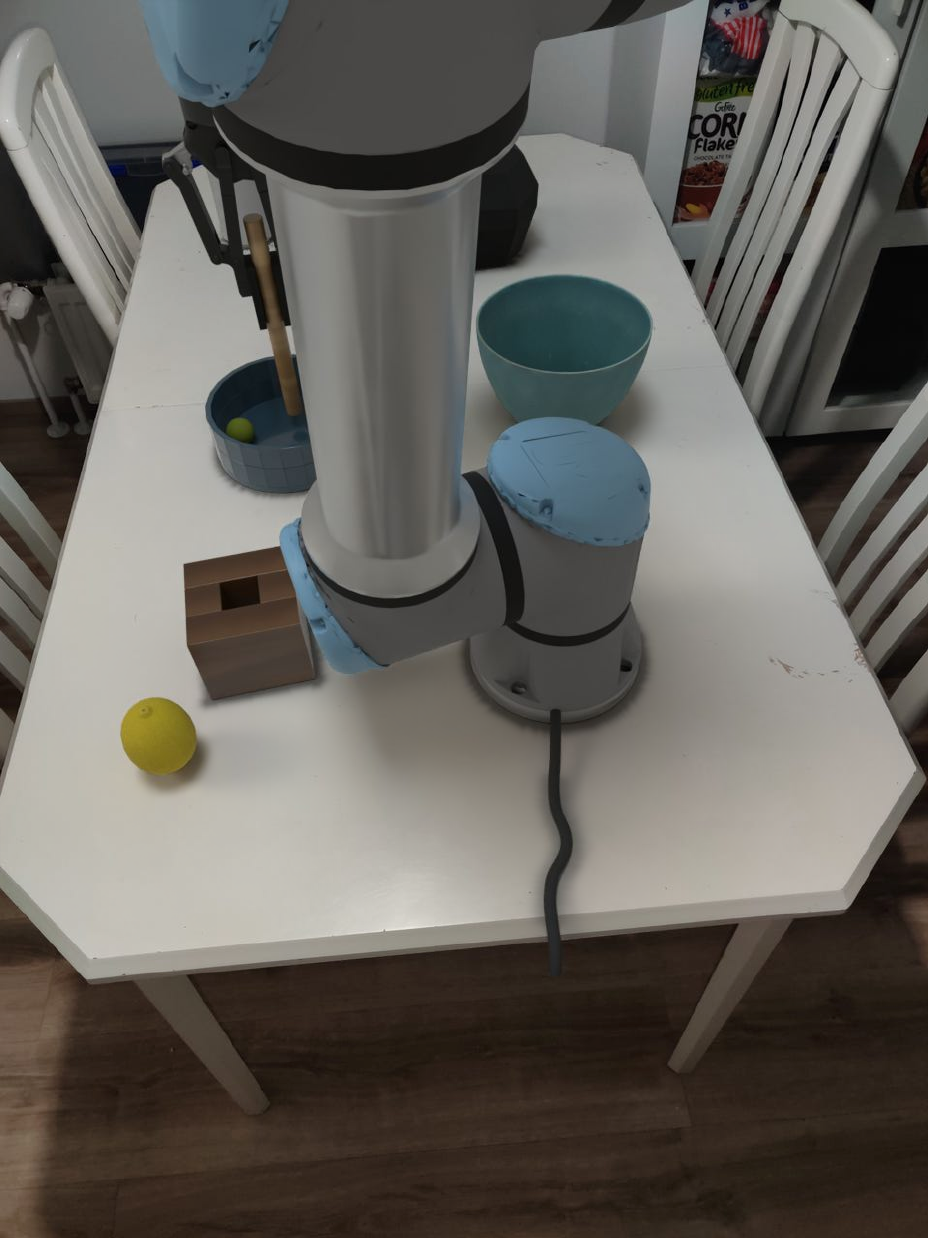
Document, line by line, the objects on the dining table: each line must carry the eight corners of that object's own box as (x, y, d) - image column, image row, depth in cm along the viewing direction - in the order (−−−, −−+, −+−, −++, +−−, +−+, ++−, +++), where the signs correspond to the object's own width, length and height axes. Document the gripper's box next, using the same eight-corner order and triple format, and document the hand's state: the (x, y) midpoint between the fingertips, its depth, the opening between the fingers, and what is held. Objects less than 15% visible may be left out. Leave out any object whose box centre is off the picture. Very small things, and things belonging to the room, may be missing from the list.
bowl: (375, 478, 93) (369, 434, 89) (223, 504, 91) (209, 461, 87) (352, 387, 103) (346, 344, 98) (215, 410, 101) (201, 366, 96)
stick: (303, 414, 96) (263, 220, 79) (287, 417, 96) (243, 223, 79) (302, 404, 97) (261, 211, 80) (286, 407, 97) (241, 214, 80)
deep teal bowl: (448, 398, 101) (444, 303, 92) (578, 350, 107) (587, 255, 97) (531, 490, 92) (536, 395, 82) (669, 432, 97) (689, 336, 87)
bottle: (430, 217, 128) (416, -28, 104) (541, 223, 126) (552, -25, 103) (409, 275, 118) (389, 19, 95) (529, 282, 116) (539, 23, 93)
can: (230, 224, 128) (209, 138, 119) (280, 224, 128) (263, 138, 118) (219, 250, 124) (196, 163, 114) (271, 250, 123) (253, 163, 114)
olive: (258, 437, 94) (232, 447, 94) (259, 441, 97) (233, 450, 97) (247, 411, 94) (220, 421, 93) (248, 415, 97) (222, 425, 96)
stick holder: (315, 678, 77) (300, 623, 71) (211, 700, 76) (186, 645, 70) (303, 601, 83) (288, 544, 77) (206, 620, 82) (182, 563, 75)
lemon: (126, 770, 72) (91, 719, 66) (174, 721, 75) (145, 668, 69) (173, 803, 70) (141, 754, 64) (221, 752, 73) (195, 700, 67)
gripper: (304, 31, 72) (342, 289, 91) (123, 51, 71) (199, 310, 89) (315, 65, 68) (352, 330, 86) (121, 87, 66) (202, 352, 85)
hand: (274, 319), depth 88 cm, fingers closed on stick, 2 cm apart
